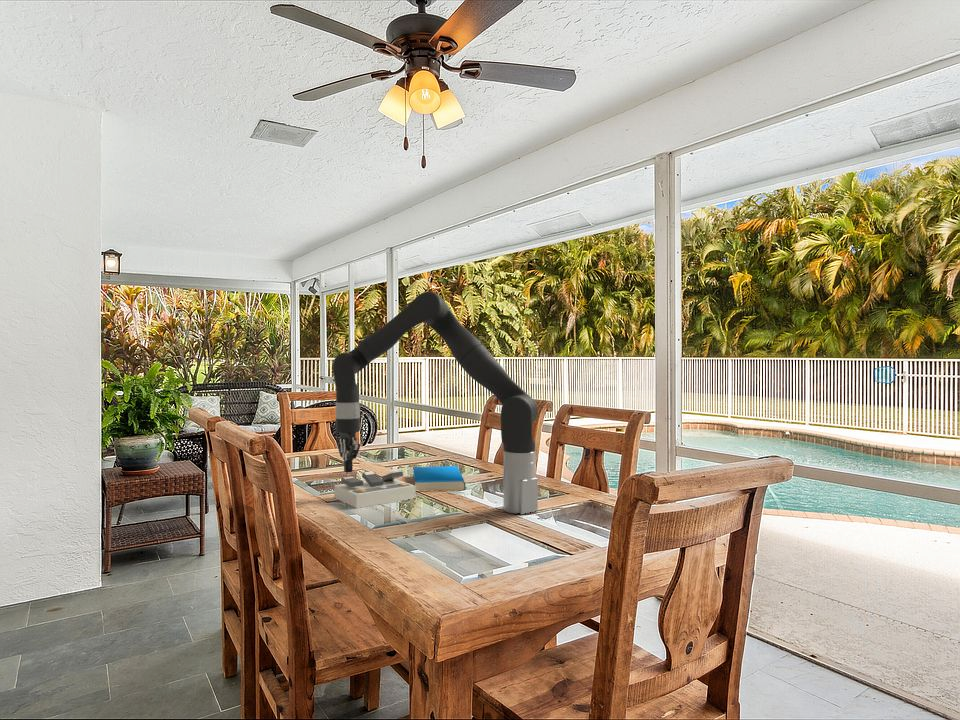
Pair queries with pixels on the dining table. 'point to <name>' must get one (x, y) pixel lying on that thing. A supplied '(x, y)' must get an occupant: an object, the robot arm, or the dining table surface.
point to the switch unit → (375, 493)
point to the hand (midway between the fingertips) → (348, 471)
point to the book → (438, 478)
